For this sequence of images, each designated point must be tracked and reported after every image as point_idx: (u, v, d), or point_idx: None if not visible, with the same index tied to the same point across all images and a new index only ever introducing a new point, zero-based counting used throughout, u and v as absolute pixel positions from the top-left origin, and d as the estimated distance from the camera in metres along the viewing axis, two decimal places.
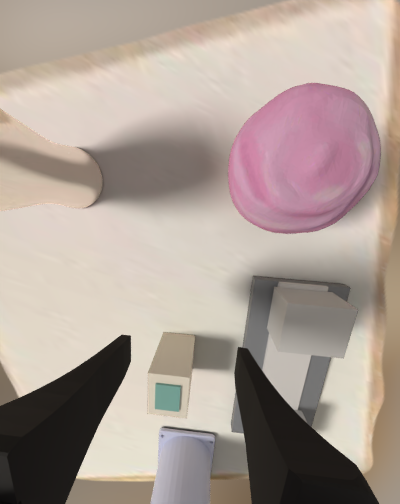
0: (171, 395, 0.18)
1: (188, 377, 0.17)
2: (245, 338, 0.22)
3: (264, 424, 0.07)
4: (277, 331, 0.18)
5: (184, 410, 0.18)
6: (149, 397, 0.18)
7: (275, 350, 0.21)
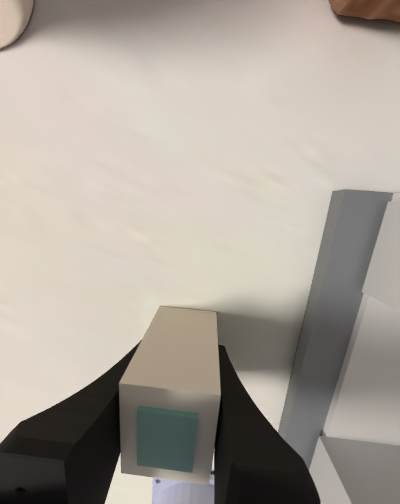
0: (175, 436, 0.07)
1: (217, 394, 0.07)
2: (311, 314, 0.12)
3: (223, 419, 0.07)
4: None
5: (204, 468, 0.08)
6: (124, 438, 0.08)
7: (373, 336, 0.11)
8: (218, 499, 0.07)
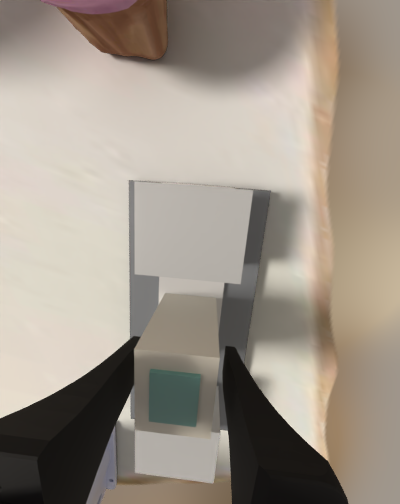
0: (181, 394, 0.09)
1: (216, 357, 0.09)
2: None
3: (242, 422, 0.07)
4: None
5: (206, 424, 0.09)
6: (138, 398, 0.09)
7: None
8: (238, 502, 0.07)
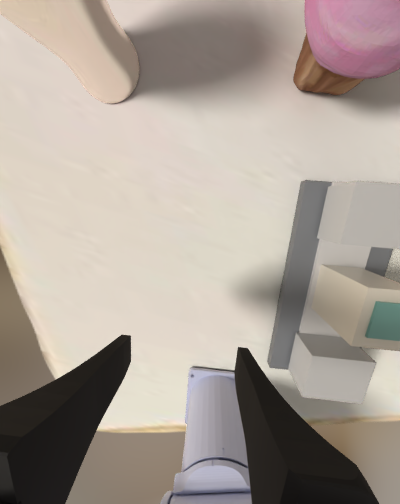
0: (396, 317, 0.14)
1: None
2: (290, 254, 0.20)
3: (264, 424, 0.07)
4: (337, 225, 0.16)
5: None
6: (360, 322, 0.14)
7: None
8: None
